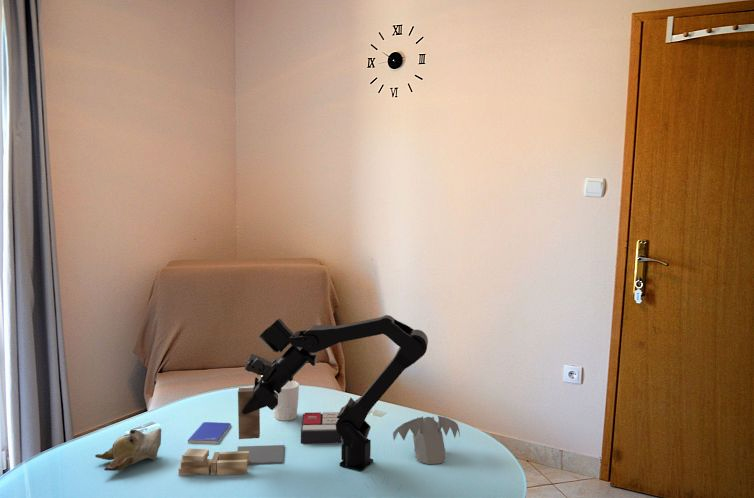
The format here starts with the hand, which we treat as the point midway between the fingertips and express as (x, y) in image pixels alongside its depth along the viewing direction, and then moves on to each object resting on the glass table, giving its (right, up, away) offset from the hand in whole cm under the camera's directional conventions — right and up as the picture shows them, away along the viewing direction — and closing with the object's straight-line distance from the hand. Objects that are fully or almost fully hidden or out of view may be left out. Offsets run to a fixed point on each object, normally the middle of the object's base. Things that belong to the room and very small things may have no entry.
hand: (243, 410), depth 148 cm
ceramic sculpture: (-28, -13, 0) cm, 31 cm away
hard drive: (-13, -12, +18) cm, 25 cm away
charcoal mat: (+3, -13, +5) cm, 14 cm away
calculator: (+18, -12, +21) cm, 30 cm away
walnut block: (+1, -7, +1) cm, 7 cm away
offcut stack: (-11, -13, -4) cm, 18 cm away
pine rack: (-2, -13, -3) cm, 14 cm away
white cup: (+6, -11, +32) cm, 34 cm away
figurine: (+47, -14, +8) cm, 49 cm away
